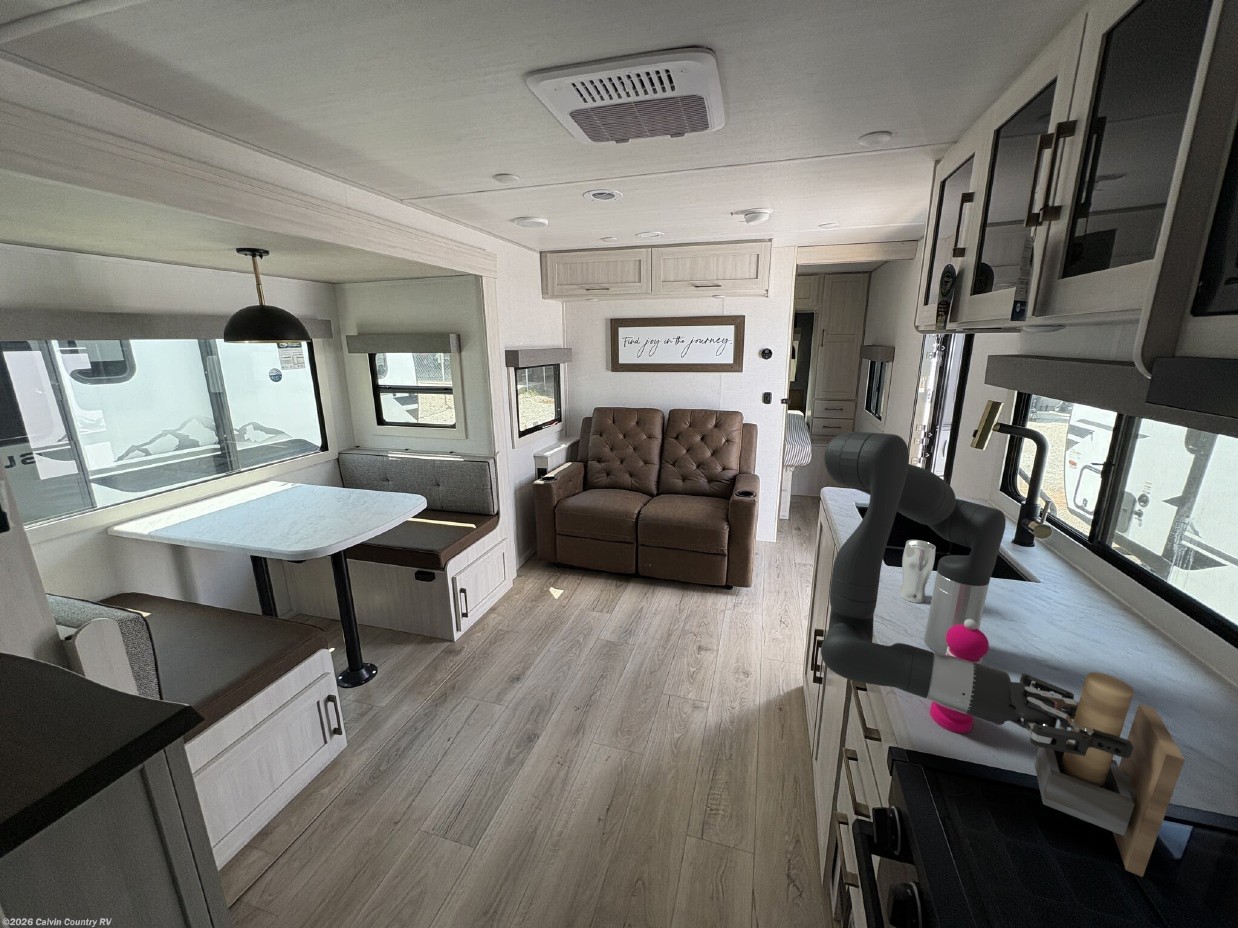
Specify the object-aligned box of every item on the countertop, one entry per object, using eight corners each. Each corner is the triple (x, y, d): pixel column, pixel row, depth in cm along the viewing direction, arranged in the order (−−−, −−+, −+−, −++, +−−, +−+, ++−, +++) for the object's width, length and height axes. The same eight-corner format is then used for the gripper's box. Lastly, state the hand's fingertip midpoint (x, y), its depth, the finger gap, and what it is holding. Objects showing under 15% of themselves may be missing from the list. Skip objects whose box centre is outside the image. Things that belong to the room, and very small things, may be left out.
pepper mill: (929, 699, 92) (948, 604, 87) (976, 717, 87) (999, 618, 82) (923, 721, 86) (943, 621, 81) (973, 742, 82) (997, 637, 77)
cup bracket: (1027, 779, 75) (1054, 679, 71) (1119, 814, 69) (1154, 708, 65) (1037, 832, 67) (1069, 722, 62) (1142, 876, 61) (1184, 759, 57)
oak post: (1055, 764, 70) (1083, 667, 66) (1096, 778, 68) (1127, 680, 64) (1061, 786, 66) (1091, 686, 63) (1105, 803, 64) (1139, 699, 60)
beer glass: (926, 606, 125) (937, 552, 121) (895, 599, 128) (904, 546, 124) (926, 595, 130) (936, 543, 127) (897, 588, 134) (905, 537, 130)
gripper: (973, 692, 66) (1152, 750, 57) (968, 640, 77) (1116, 681, 68) (962, 738, 68) (1134, 801, 59) (960, 681, 79) (1103, 726, 70)
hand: (1124, 736), depth 64 cm, fingers closed on oak post, 4 cm apart
